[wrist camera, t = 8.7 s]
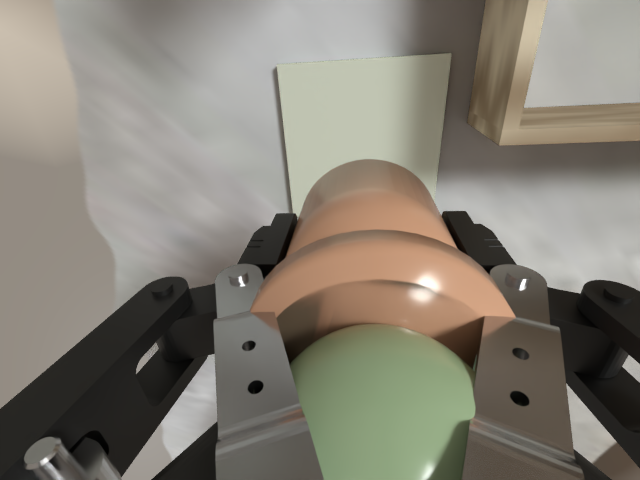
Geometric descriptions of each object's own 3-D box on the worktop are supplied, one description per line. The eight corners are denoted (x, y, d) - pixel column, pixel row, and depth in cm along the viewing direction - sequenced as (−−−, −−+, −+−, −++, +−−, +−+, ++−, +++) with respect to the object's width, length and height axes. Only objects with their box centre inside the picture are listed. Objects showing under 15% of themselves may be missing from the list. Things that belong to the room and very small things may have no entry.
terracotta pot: (283, 150, 12) (49, 488, 3) (456, 144, 12) (876, 558, 2) (298, 285, 16) (207, 660, 6) (437, 286, 15) (579, 712, 5)
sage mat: (278, 64, 22) (276, 64, 22) (449, 53, 21) (451, 53, 21) (294, 213, 28) (293, 216, 27) (431, 211, 27) (432, 214, 26)
